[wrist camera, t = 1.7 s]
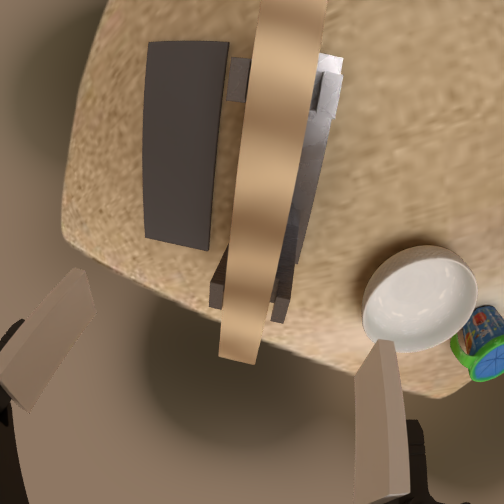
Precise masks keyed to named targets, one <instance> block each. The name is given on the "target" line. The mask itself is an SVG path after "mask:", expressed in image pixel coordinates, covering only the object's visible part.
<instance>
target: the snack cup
mask: <svg viewBox="0 0 504 504" xmlns="http://www.w3.org/2000/svg"><path fill="white" fill-rule="evenodd" d="M463 334H464V340H465V345H466V351H467V354H465V353H464V351H463V350H462V348H461V347H460V345H459V343H458V335H457V333H456V334H455V335H453V336H452V338H451V341H450V347H451V350H452V352H453V353H454V355H455V356H456V358H457V359H458V360H459V362H460V363H461V364H462V365H463V366H465V367H466V368H468V371H469V375H470V378H471V379H472V380H473V381H477V382H483V381H487V380H491V379H493V378H495V377H497V376H499V375H500V374H502V373H504V319H503V318H502V316H501V315H500V314H499V313H498V312H497V310H496V309H495V308H494V307H493V306H492V307H490V306H485V307H480V308H477V309H476V311H474V312H473V313H472V315H471V316H470V318H469V320H468V321H467V322H466V324H465V325H464V326H463Z"/></svg>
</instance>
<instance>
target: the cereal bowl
mask: <svg viewBox="0 0 504 504" xmlns="http://www.w3.org/2000/svg"><path fill="white" fill-rule="evenodd" d="M477 296H478V287H477V282H476V279H475V276H474V274H473V273H472V271H471V269H470V268H469V266H468V265H467V264H466V262H464V260H463V259H462V258H460V256H459V255H457V254H456V253H454V252H452V251H451V250H448V249H446V248H443V247H438V246H432V245H424V246H423V245H422V246H415V247H411V248H408V249H405V250H402V251H401V252H398V253H397V254H395V255H393V256H392V257H390V258H389V259H387V260H386V261H385V262H384V263H383V264H382V265H380V267H379V268H378V269H377V270H376V271H375V272H374V274H373V275H372V277H371V278H370V280H369V282H368V284H367V286H366V289H365V291H364V295H363V300H362V324H363V328H364V331H365V333H366V335H367V336H368V337H369V339H370V340H371V341H372V342H374V343H376V341H377V340H378V339H383V340H389V341H394V345H395V350H396V352H400V353H411V352H418V351H423V350H427V349H430V348H432V347H435V346H437V345H439V344H441V343H443V342H445V341H446V340H448V339H449V338H451V337H452V336H453V335H455V334H456V333H457V332H458V331H459V330H460V329H461V328H462V327H463V326H464V325H465V324H466V322H467V321H468V320H469V318H470V316H471V315H472V313H473V310H474V308H475V305H476V302H477Z"/></svg>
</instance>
